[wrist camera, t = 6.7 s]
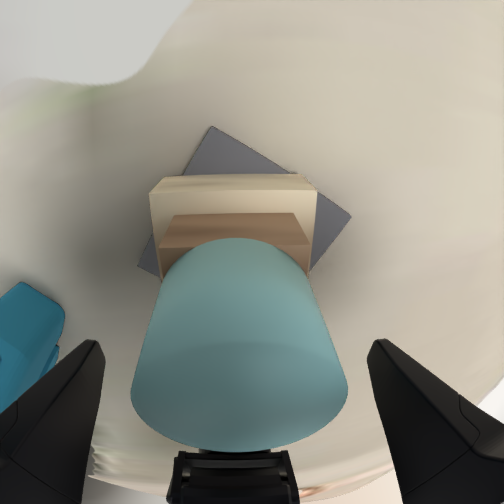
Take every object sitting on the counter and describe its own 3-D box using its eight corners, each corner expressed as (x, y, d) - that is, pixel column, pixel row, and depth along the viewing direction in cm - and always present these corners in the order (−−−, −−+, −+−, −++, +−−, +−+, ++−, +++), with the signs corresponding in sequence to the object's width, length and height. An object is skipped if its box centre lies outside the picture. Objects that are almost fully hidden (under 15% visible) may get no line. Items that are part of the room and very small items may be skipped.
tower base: (292, 288, 18) (302, 320, 15) (177, 290, 17) (169, 323, 15) (301, 174, 14) (317, 190, 12) (164, 176, 14) (148, 193, 11)
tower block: (285, 306, 14) (296, 349, 12) (186, 309, 14) (178, 352, 12) (293, 212, 12) (310, 244, 9) (174, 215, 12) (158, 248, 9)
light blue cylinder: (313, 344, 12) (339, 435, 8) (185, 363, 12) (176, 454, 8) (305, 224, 9) (357, 316, 5) (138, 254, 9) (90, 353, 5)
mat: (263, 319, 19) (264, 325, 19) (139, 261, 17) (137, 266, 16) (347, 213, 16) (351, 217, 16) (212, 126, 13) (211, 126, 13)
